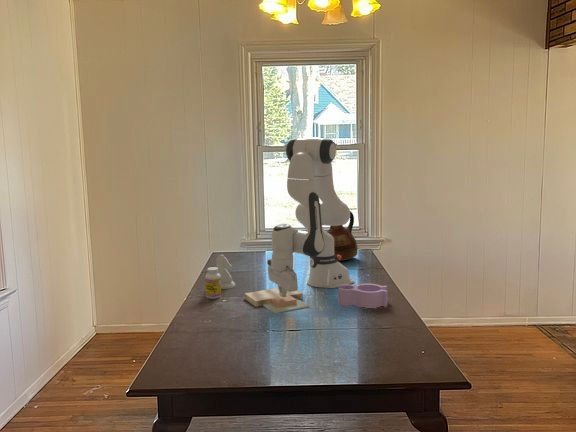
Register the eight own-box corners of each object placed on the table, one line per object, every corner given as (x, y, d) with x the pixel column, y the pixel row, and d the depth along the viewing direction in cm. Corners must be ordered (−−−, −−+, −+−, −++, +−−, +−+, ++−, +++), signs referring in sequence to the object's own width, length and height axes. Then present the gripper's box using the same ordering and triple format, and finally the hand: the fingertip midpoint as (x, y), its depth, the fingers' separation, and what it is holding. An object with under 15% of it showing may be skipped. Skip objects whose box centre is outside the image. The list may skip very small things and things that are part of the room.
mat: (296, 299, 217) (296, 298, 217) (309, 307, 207) (309, 305, 207) (262, 305, 210) (262, 304, 210) (274, 313, 200) (274, 312, 200)
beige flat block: (289, 291, 229) (289, 285, 229) (302, 298, 218) (302, 293, 218) (244, 298, 219) (244, 293, 219) (255, 306, 209) (255, 301, 208)
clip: (337, 307, 207) (337, 291, 206) (339, 298, 219) (339, 282, 218) (387, 309, 204) (387, 293, 203) (386, 299, 216) (386, 284, 215)
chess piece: (230, 289, 232) (229, 258, 229) (210, 288, 235) (209, 256, 233) (238, 283, 241) (237, 253, 239) (219, 282, 244) (218, 251, 242)
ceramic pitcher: (316, 257, 292) (316, 205, 287) (348, 254, 298) (349, 203, 293) (329, 265, 274) (329, 210, 269) (363, 262, 280) (364, 208, 275)
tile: (290, 300, 215) (290, 295, 214) (296, 304, 209) (296, 299, 209) (270, 303, 211) (270, 298, 210) (276, 307, 205) (276, 302, 205)
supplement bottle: (203, 298, 220) (202, 269, 218) (209, 294, 226) (208, 266, 224) (218, 299, 218) (217, 270, 216) (223, 295, 224) (222, 266, 222)
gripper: (301, 268, 200) (301, 302, 203) (278, 257, 218) (279, 288, 221) (287, 270, 198) (287, 304, 200) (265, 259, 216) (265, 290, 218)
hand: (282, 296), depth 210 cm, fingers closed
